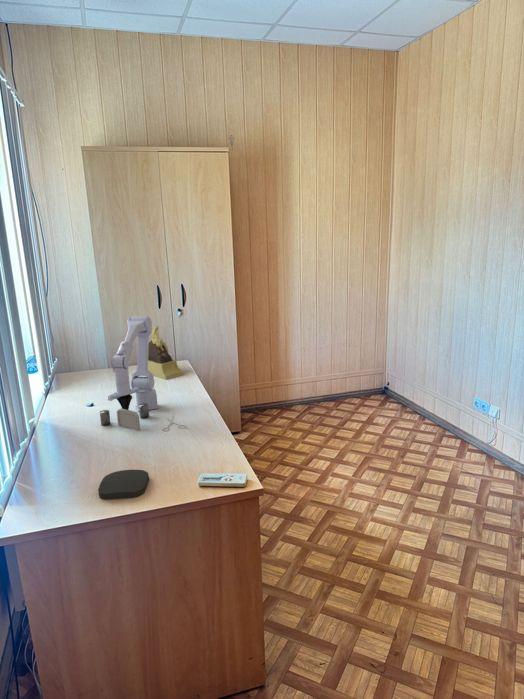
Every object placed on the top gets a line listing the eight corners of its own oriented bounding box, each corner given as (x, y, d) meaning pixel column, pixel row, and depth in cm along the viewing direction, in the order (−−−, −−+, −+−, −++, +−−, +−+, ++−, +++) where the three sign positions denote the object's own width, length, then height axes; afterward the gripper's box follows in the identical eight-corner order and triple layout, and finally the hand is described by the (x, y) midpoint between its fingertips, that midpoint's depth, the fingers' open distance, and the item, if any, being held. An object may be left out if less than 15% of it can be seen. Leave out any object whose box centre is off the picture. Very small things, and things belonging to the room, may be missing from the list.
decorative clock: (183, 375, 280) (180, 325, 273) (165, 380, 271) (161, 328, 264) (156, 367, 299) (152, 320, 292) (139, 371, 290) (134, 324, 283)
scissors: (163, 432, 195) (157, 416, 214) (163, 434, 196) (157, 417, 214) (188, 428, 199) (180, 412, 217) (188, 430, 199) (180, 414, 217)
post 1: (110, 422, 210) (108, 409, 208) (111, 425, 206) (109, 412, 205) (100, 423, 208) (99, 410, 207) (101, 426, 205) (100, 413, 203)
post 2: (148, 415, 217) (147, 402, 215) (150, 417, 213) (148, 405, 212) (139, 416, 215) (138, 404, 214) (141, 419, 211) (139, 406, 210)
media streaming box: (143, 498, 147) (142, 489, 146) (96, 501, 146) (94, 493, 145) (150, 475, 161) (150, 467, 160) (107, 478, 160) (106, 470, 159)
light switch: (137, 431, 199) (135, 413, 197) (118, 425, 205) (116, 408, 203) (140, 429, 200) (138, 412, 198) (121, 424, 206) (119, 407, 205)
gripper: (131, 376, 211) (134, 405, 214) (102, 384, 200) (106, 414, 203) (140, 379, 206) (143, 408, 210) (111, 387, 196) (115, 418, 199)
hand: (125, 411), depth 206 cm, fingers closed
